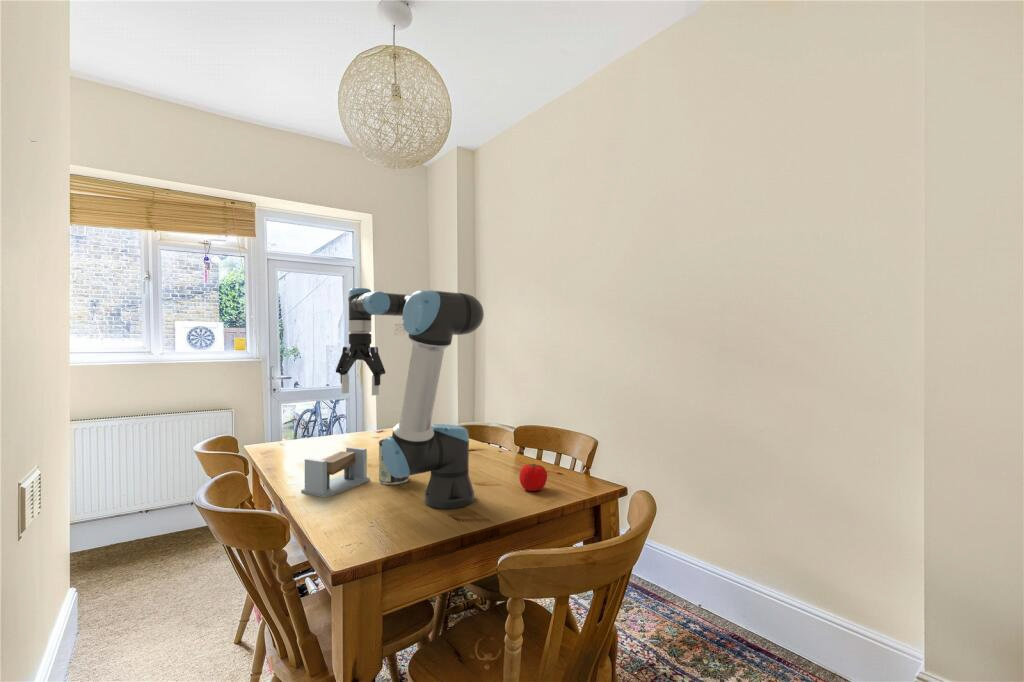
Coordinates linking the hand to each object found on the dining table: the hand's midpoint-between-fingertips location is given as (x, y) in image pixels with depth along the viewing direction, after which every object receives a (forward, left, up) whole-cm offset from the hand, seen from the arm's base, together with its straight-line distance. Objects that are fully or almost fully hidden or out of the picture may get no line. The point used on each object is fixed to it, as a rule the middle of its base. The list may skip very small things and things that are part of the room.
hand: (360, 394), depth 160 cm
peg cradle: (+4, +6, -31) cm, 32 cm away
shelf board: (+4, +6, -25) cm, 26 cm away
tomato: (-57, -19, -31) cm, 68 cm away
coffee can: (-9, -7, -31) cm, 33 cm away
